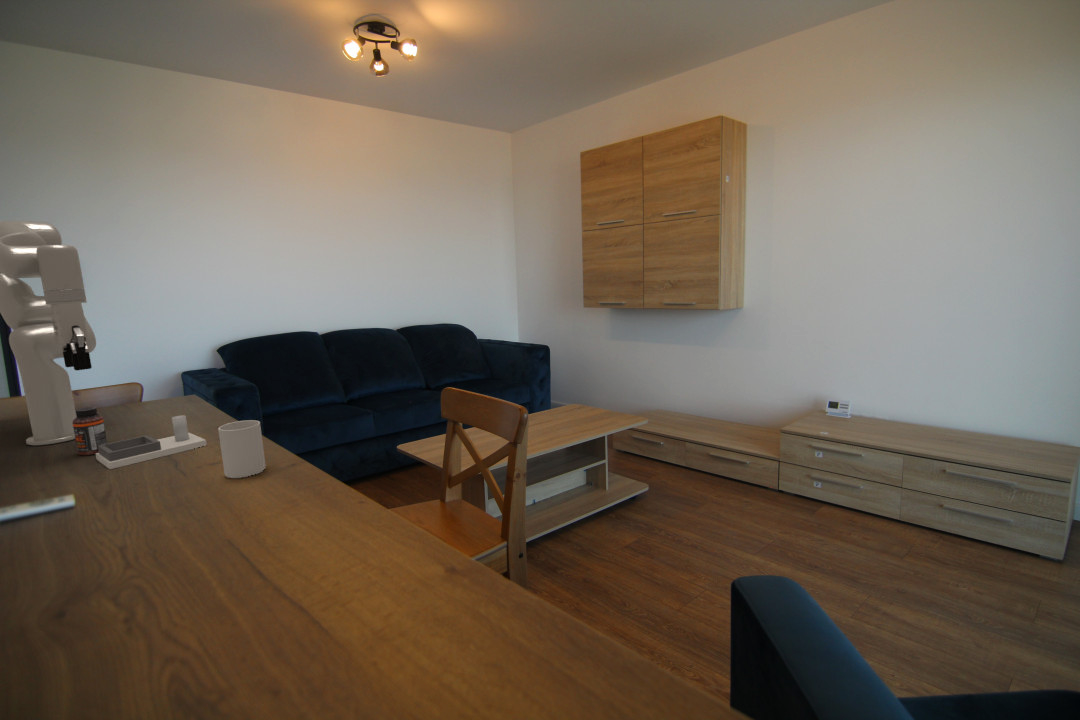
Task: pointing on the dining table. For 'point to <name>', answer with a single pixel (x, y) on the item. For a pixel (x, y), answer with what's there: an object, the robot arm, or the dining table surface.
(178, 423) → the framed tray with peg
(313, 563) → the dining table surface
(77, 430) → the supplement bottle
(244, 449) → the mug
